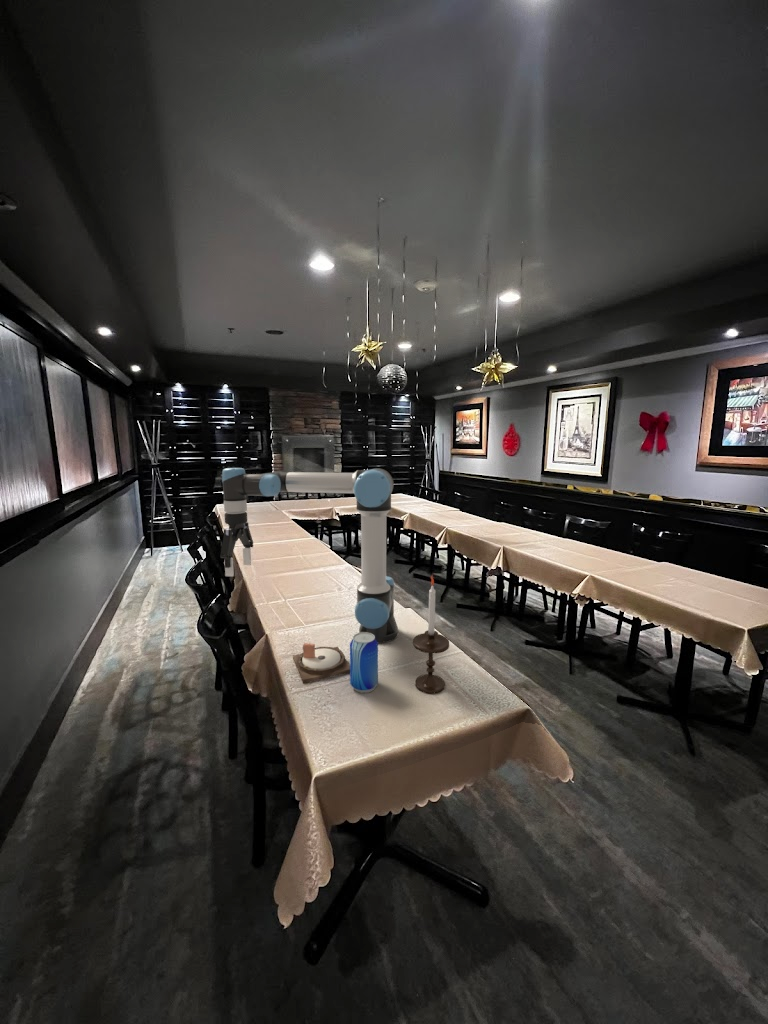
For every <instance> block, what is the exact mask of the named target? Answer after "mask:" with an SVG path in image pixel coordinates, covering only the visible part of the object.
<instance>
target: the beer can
mask: <svg viewBox="0 0 768 1024" xmlns="http://www.w3.org/2000/svg"><path fill="white" fill-rule="evenodd" d="M349 665H350V673H349V676H350V677H349V684H350V686H351V687H352V689H353V690H354V691H355V692H357V693H360V694H367V693H371V692H373V691H374V690H375V688H376V687H377V686H378V684H379V643H377V641H376V639H375V636H374V635H373V634H371V633H368V632H361V633H359V632H357V633H354V635H353V636H352V639H351V641H350V643H349Z"/></svg>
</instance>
